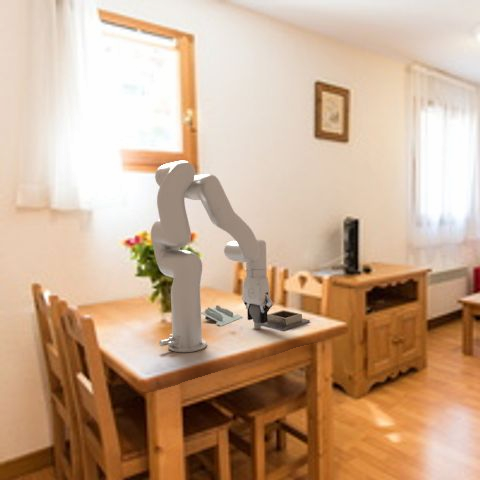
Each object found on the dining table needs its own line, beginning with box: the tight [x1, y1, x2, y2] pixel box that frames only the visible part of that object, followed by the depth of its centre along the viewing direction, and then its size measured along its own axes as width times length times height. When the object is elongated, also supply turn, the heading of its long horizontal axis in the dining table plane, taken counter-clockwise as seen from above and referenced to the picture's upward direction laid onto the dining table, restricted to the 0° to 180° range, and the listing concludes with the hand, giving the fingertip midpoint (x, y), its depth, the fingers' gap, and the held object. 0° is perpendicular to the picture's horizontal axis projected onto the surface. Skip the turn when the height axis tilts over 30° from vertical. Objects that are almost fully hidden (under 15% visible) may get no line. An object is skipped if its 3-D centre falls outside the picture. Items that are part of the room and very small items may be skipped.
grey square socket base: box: [261, 310, 311, 332], centre depth 159 cm, size 16×12×4 cm
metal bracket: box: [201, 304, 244, 327], centre depth 167 cm, size 14×6×15 cm
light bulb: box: [249, 304, 265, 330], centre depth 153 cm, size 6×6×10 cm
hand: (257, 320), depth 153 cm, fingers closed on light bulb, 6 cm apart
